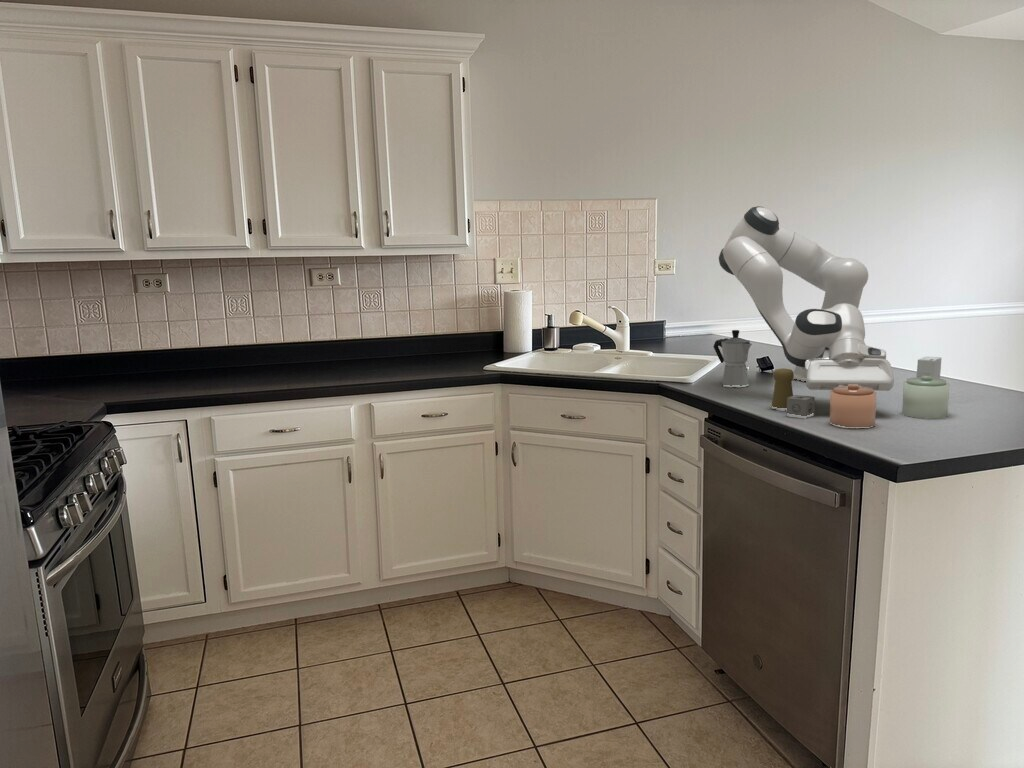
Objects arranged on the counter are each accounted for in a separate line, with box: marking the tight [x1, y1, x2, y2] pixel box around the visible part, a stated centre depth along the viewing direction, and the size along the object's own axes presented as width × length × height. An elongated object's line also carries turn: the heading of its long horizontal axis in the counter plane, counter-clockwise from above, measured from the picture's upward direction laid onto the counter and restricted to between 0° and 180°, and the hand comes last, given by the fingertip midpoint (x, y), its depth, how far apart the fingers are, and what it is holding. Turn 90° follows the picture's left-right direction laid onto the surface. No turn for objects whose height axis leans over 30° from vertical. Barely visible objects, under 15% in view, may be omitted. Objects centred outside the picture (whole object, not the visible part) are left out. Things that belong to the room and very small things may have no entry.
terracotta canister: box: [829, 384, 877, 427], centre depth 175 cm, size 10×10×10 cm
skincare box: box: [916, 356, 942, 379], centre depth 195 cm, size 6×4×12 cm
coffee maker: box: [713, 329, 753, 386], centre depth 232 cm, size 15×9×18 cm, turn 34°
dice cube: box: [786, 394, 815, 416], centre depth 187 cm, size 5×5×5 cm
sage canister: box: [901, 376, 950, 420], centre depth 182 cm, size 10×10×10 cm
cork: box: [771, 368, 795, 408], centre depth 196 cm, size 6×6×11 cm
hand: (849, 402), depth 181 cm, fingers closed, pressing on terracotta canister
